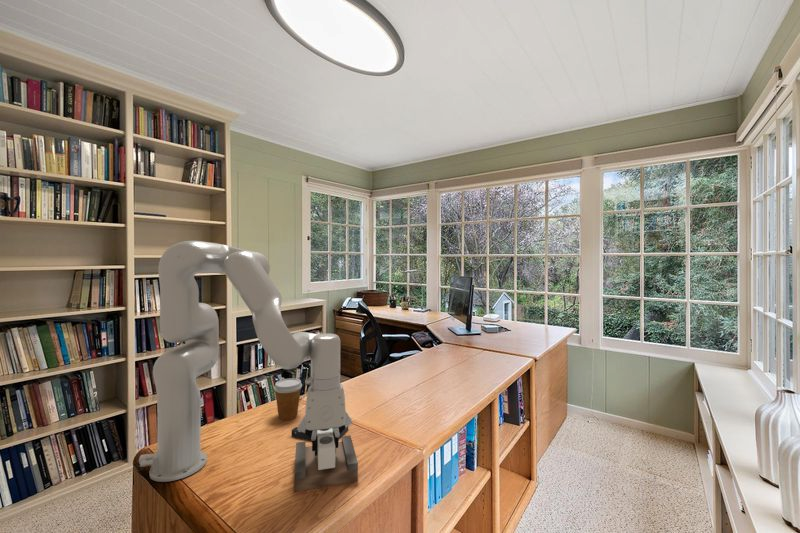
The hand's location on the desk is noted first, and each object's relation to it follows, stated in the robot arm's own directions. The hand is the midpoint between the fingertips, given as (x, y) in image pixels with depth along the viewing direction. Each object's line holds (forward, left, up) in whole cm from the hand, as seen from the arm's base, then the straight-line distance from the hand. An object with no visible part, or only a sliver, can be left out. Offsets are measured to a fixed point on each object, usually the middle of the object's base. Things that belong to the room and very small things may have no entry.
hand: (325, 451), depth 87 cm
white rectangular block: (0, 0, -1) cm, 1 cm away
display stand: (0, 0, -5) cm, 5 cm away
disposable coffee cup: (-11, +35, -5) cm, 37 cm away
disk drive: (0, +20, -5) cm, 21 cm away
